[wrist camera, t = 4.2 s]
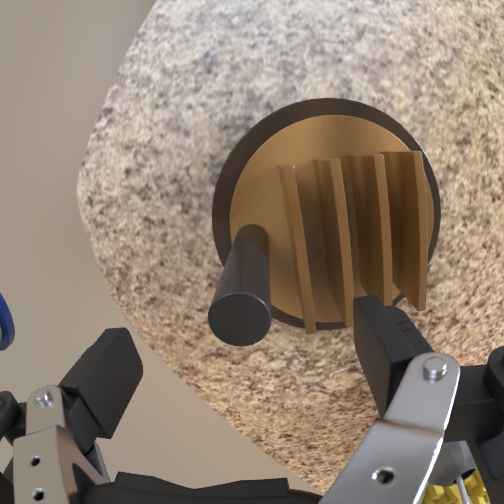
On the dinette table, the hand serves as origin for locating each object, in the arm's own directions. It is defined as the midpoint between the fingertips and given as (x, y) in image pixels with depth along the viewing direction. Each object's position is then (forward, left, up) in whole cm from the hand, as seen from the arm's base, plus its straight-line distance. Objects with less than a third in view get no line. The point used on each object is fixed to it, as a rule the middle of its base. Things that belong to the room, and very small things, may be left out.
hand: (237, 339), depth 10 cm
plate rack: (+6, +2, -14) cm, 15 cm away
